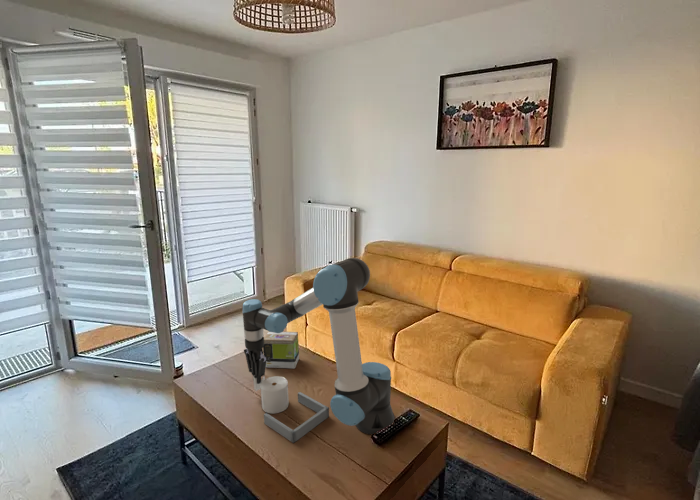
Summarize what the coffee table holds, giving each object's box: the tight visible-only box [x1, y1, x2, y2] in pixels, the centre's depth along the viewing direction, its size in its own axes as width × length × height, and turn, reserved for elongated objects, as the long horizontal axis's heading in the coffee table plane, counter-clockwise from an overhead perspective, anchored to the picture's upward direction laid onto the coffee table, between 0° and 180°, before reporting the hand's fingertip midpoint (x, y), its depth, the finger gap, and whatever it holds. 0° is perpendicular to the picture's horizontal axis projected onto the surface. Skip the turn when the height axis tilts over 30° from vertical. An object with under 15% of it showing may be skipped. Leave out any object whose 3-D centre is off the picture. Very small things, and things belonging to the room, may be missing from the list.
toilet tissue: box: [260, 375, 289, 415], centre depth 156 cm, size 11×12×10 cm
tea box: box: [262, 331, 300, 369], centre depth 187 cm, size 15×10×15 cm, turn 84°
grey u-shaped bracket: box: [263, 391, 330, 444], centre depth 148 cm, size 16×18×4 cm
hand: (257, 389), depth 162 cm, fingers closed
